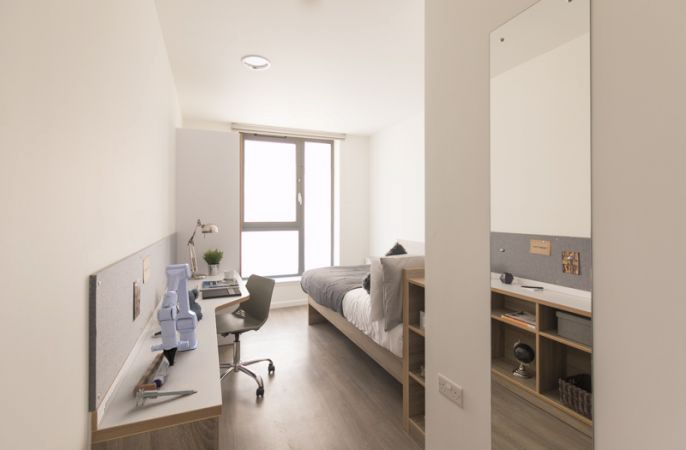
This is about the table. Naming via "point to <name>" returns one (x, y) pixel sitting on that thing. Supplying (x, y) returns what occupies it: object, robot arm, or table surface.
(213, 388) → the table surface
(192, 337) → the robot arm
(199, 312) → the koala plush
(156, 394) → the caliper
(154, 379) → the white tube
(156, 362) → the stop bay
